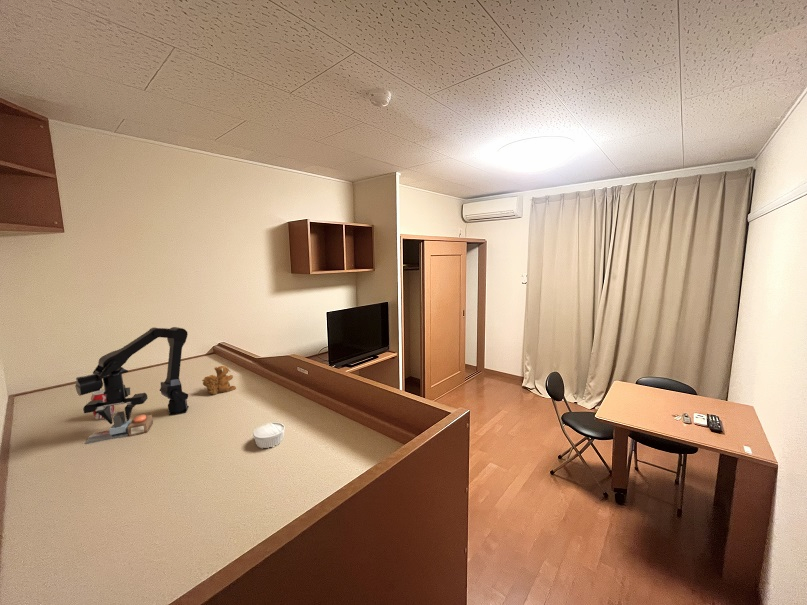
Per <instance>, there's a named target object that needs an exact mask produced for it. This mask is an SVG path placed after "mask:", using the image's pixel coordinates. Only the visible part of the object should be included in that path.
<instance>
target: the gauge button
mask: <svg viewBox="0 0 807 605" xmlns="http://www.w3.org/2000/svg"><path fill="white" fill-rule="evenodd" d="M146 416H147V415H146V414H140V415H136V416H134V417H132V418H133V419H132V421H133V420H134V423H140V422H143V421H145V420H146Z"/></svg>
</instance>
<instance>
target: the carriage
mask: <svg viewBox="0 0 807 605" xmlns="http://www.w3.org/2000/svg"><path fill="white" fill-rule="evenodd" d="M112 422H113V423H112V425H111V426H110V428H109V429H108V430H109V431H110V435H114V434H119V433H124V432H128V426H129V424H130V423H131V422H132V420H131V419H129V421H127V419H126V413H125V410H122V411H117V413H116V414H114V415H113V417H112Z"/></svg>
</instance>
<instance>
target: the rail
mask: <svg viewBox="0 0 807 605" xmlns="http://www.w3.org/2000/svg"><path fill="white" fill-rule="evenodd" d="M125 437H129V433H128V432H124V433H119V434H114V435H110V431H109V429H108V430H103V431H99V432H97V431H96V432H94V433H93V434H90V435H89V436H88V439H87V440H86V441H85V445H89V444H94V443H98V442H104V441H108V440H114V439H120V438H125Z"/></svg>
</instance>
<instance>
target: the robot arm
mask: <svg viewBox="0 0 807 605" xmlns="http://www.w3.org/2000/svg"><path fill="white" fill-rule="evenodd" d="M158 338H163V339H164V338H165V339H166V340H167V344H168V346H169V349H168V350H169V352H168V361H167V362H168V363H167V372H166V379H165V380H164V381H160V389H159V392H160V394H161V395H162V396H163V397H166V398H167V399H169V400H168V403H167V409H168V413H169V416H175V415H181V414H185V413H187V412H188V409H189V405H188V398H189V394H188V393H186V392H185V391H183V387H182V382H181V380H180V372H181V362H182V352H183V351H182V350H183V347H184V345H185V344H186V342H187V339H188V331H187V330H186V329H185V328H184V327H177V326H172V327H170V328H167V327H165V328H163V327H156V326H154V327H151V328H149V329H148V330H147V331H146V332H145V333H142V334H141V335H140V336H138V337H136V338H135V339H134V340H132V341H130V342H129V343H128V344H126V345H124V346H122V347H121V348H119V349H117V350H114V351H111V352H109V353H106V354H104V355H103V356H101V357H100V358H99V359H98V362H97V363H98V364H97V366H96V367H95V369H94V370H93V371H92V374H89V375H83V376H77V377H76V378H75V379H76V381H75V386H74V388H75V391H76V393H77V395H78V396H80V397H81V396H83V395H87V394H90V393H91V394H92V393H93V392H95V391H99V390H102V388H103V389H105V391H104V395H106V402H103V401H102V400H101V399H100V400H94V401H91V400H90V401H88V402H87V403H86V404H85V405H84V406H83V409H82V410H83V414H88V413H93V412H94V411H95V410H96V412H95V413H98V414H100V415H101V416H102V417H104V418H105V419H104V420H105V421H106V422H108V423H109V425H113V424H114V421H113V417H112V416H113V415H112V416H111V412H110V406H112V405H114V406H119V405H124V404H126V406H125V407H124V414H125V420H127V421H129V420H131V415H132V411H133V408H135V407H136V405H137V406H138V405H139V406H140V405H143V404H145V402H146V401H147V400H148V394H147V393H146V392H141V393H135V394H134V395H133V396H132V397H128V396H129V395H131V386H129V387H126V385H125V384H124V380H123V378H124V377H123V374H125V373H128V372H129V370H128V369H125V368H124V366H123V365H125V364H126V363H127V362H128V361H129V359H130V357H132V356H133V355H134V354H136V353H138V352H140V351H141V350H142V349H143V348H145V347H146V346H148V345H149V344H151V343H152V342H154V341H155V340H156V339H158Z"/></svg>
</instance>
